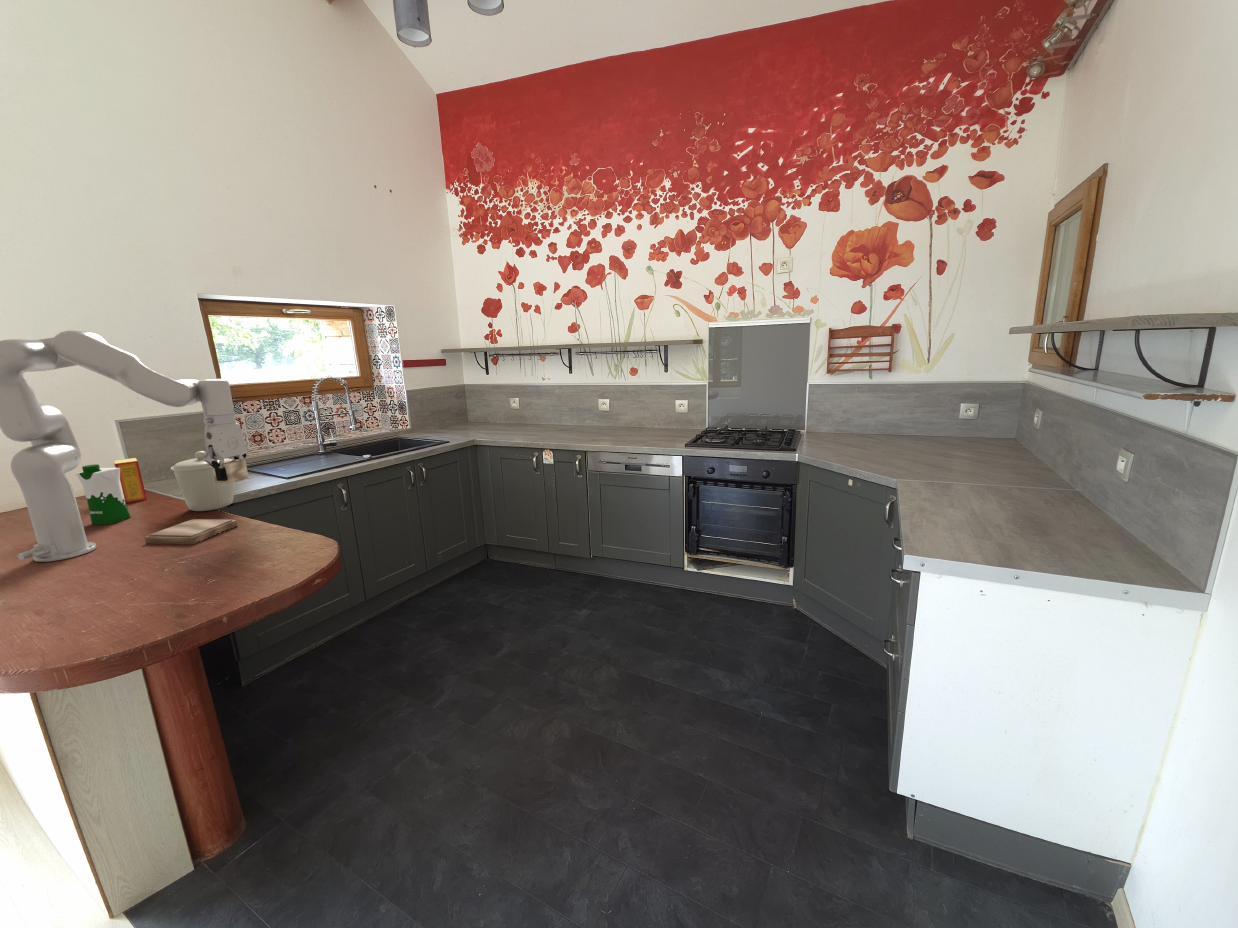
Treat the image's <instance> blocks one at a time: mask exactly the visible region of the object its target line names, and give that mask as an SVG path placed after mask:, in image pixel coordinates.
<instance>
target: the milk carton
mask: <svg viewBox="0 0 1238 928" xmlns="http://www.w3.org/2000/svg"><path fill="white" fill-rule="evenodd" d="M81 468H82V471H80V472H76V476H77V478H78V479H79V482H80V483H81V485H82V487H83V491H84V495H85V500H86V503H87V506H88V511H89V516H90V522H91V525H113V524H115V523H118V522H122V521H124V520H128V519H131V518H132V516H131V514H130V512H129V509H128V505H127V503H126V502H125V498H124V494H123V490H122V486H121V482H120V468H115V467H100V465H99V464H96V463H95V464H88V465H83V466H82V467H81Z"/></svg>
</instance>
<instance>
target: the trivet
mask: <svg viewBox="0 0 1238 928" xmlns="http://www.w3.org/2000/svg"><path fill="white" fill-rule="evenodd" d="M237 525H238V520H237V519H209V518H208V519H203V518H200V519H198V518H192V519H189V520H187V521H183V522H181V523H178V524H175V525H173V526H170V527H168V528H164V529H162V530H159V531H155V532H153V533H151V534H149V535H146V536H144V540H145V544H159V545H160V544H164V545H167V544H169V545H170V544H171V545H195V544H197V542H198V543H200V542H202V541H205V540H207V539H209V538H208V537H210V538H212V537H214V536H213V535H215V536H216V534H217V533H219V534H222V533H223V532H222V531H224V532H226V531H225V530H227V529H229V530H231V529H230V528H232V527H234V528H236V527H235V526H237ZM237 527H238V526H237ZM232 529H233V528H232ZM227 531H228V530H227ZM221 532H222V533H221ZM217 535H218V534H217ZM211 536H212V537H211ZM206 538H207V539H206ZM204 539H205V540H204ZM199 541H200V542H199Z"/></svg>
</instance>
